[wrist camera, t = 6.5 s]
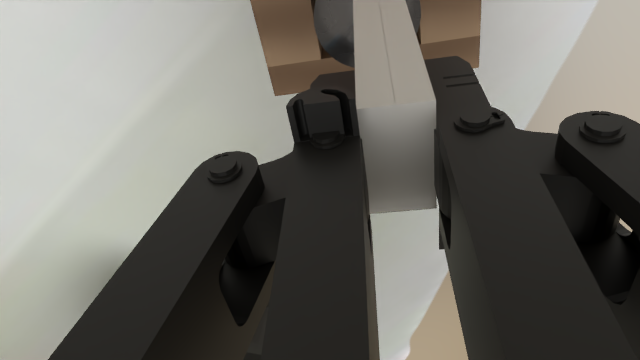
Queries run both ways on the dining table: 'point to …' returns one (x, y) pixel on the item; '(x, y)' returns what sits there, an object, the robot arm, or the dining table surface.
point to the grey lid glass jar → (346, 27)
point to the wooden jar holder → (312, 60)
